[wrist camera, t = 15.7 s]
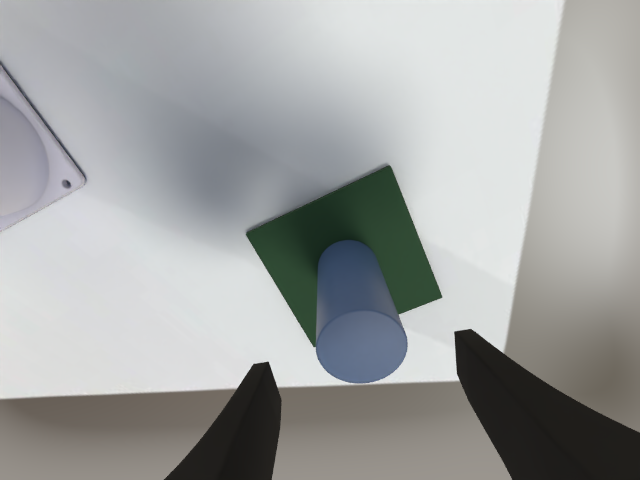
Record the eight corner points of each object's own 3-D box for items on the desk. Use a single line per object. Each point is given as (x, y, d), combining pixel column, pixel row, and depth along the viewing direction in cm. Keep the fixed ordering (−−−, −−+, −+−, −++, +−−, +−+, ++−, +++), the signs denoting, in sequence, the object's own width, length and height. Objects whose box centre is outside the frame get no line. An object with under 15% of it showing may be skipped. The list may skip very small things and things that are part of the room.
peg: (323, 297, 22) (324, 389, 15) (312, 245, 21) (307, 318, 13) (381, 288, 22) (411, 377, 14) (373, 234, 20) (403, 303, 13)
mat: (313, 344, 24) (313, 347, 24) (246, 232, 21) (245, 234, 20) (440, 294, 22) (442, 297, 22) (389, 165, 19) (391, 165, 19)
